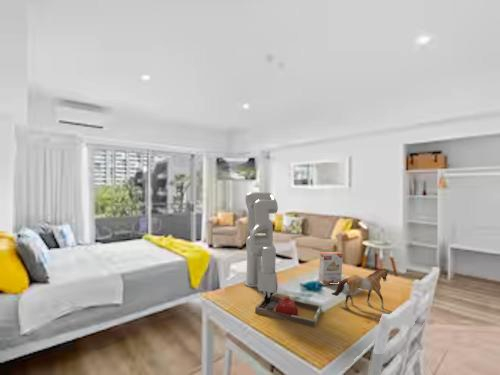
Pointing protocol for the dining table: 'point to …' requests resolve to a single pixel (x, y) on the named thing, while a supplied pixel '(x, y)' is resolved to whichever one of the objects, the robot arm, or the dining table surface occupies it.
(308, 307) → the box
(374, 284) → the horse figurine
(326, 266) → the cracker box
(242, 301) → the dining table surface
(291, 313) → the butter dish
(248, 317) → the dining table surface
